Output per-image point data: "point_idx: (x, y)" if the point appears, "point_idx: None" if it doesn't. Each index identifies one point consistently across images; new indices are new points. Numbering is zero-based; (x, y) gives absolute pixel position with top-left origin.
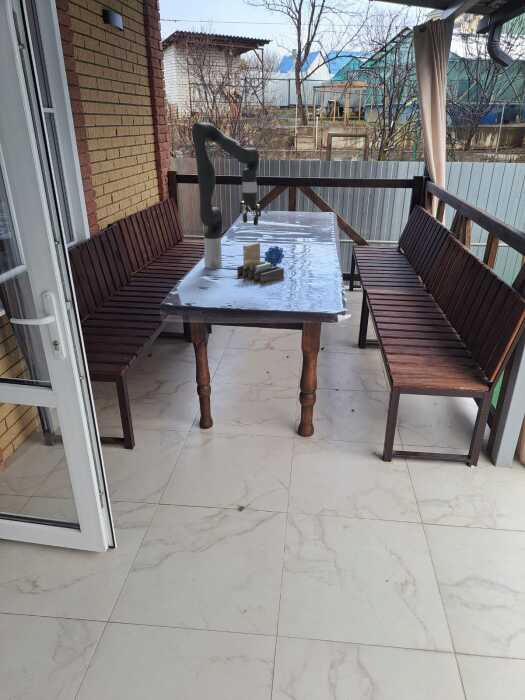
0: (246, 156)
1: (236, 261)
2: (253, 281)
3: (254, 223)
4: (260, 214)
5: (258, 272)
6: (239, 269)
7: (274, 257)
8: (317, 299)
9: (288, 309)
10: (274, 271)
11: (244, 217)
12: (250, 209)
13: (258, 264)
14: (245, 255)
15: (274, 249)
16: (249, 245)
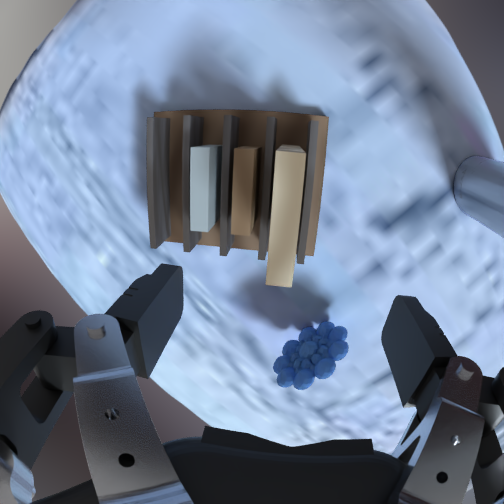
0: None
1: (451, 291)
2: (207, 115)
3: (155, 271)
4: (36, 378)
5: (183, 133)
6: (309, 127)
7: (301, 346)
8: (25, 174)
9: (27, 76)
10: (148, 193)
11: (418, 347)
12: (118, 465)
13: (233, 189)
14: (282, 148)
15: (305, 371)
16: (274, 189)
